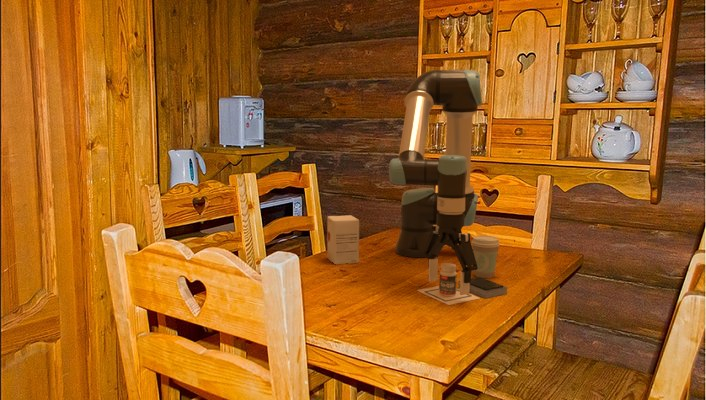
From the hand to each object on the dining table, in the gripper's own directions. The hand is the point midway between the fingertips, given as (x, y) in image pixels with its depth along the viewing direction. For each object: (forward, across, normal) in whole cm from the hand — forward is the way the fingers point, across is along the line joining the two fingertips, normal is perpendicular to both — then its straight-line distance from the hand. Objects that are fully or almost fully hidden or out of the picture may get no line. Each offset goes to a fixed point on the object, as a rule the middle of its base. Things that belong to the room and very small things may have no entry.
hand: (448, 287), depth 155 cm
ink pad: (+2, +2, +11) cm, 11 cm away
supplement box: (+2, -46, -8) cm, 47 cm away
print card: (+2, 0, 0) cm, 2 cm away
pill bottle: (+2, 0, 0) cm, 2 cm away
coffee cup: (+2, -9, +22) cm, 24 cm away
